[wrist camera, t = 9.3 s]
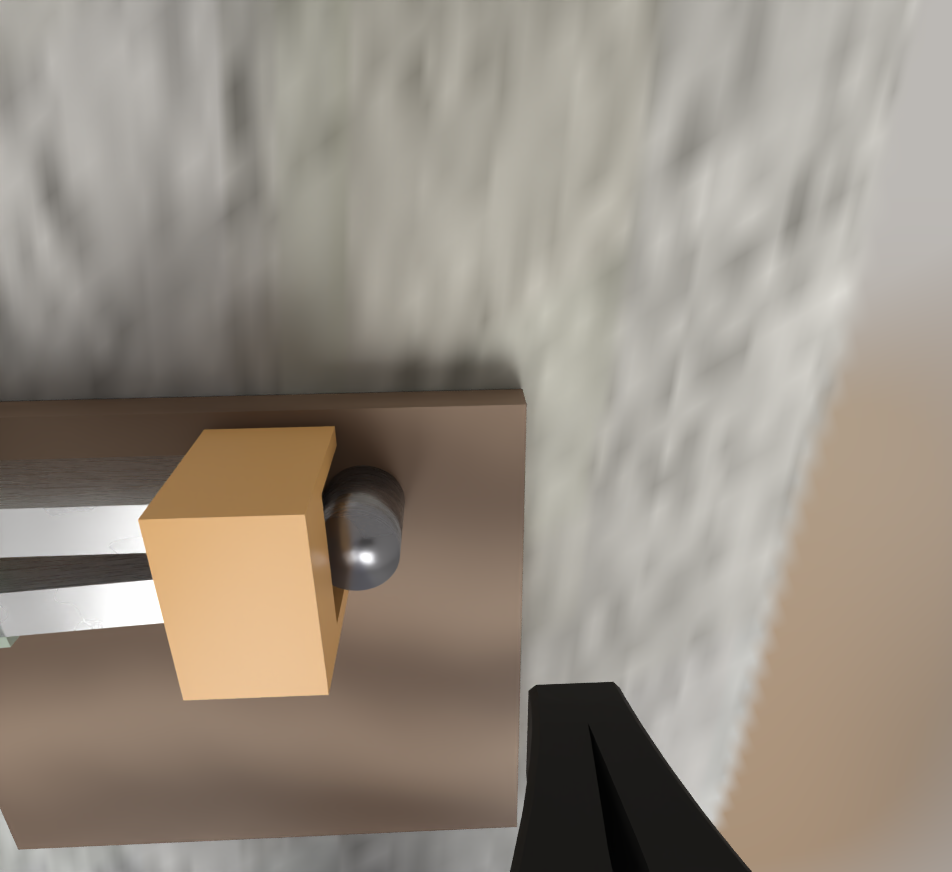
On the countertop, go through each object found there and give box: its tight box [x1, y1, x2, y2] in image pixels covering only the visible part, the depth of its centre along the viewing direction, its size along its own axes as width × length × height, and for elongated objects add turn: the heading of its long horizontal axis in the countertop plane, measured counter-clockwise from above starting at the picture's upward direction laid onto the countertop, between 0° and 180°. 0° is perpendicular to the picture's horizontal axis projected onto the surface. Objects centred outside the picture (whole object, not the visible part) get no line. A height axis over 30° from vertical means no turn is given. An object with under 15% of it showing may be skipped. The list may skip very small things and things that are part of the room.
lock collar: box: [138, 426, 349, 700], centre depth 15 cm, size 4×3×4 cm
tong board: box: [0, 389, 527, 849], centre depth 19 cm, size 15×16×3 cm
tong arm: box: [0, 553, 164, 648], centre depth 17 cm, size 2×10×2 cm, turn 95°
